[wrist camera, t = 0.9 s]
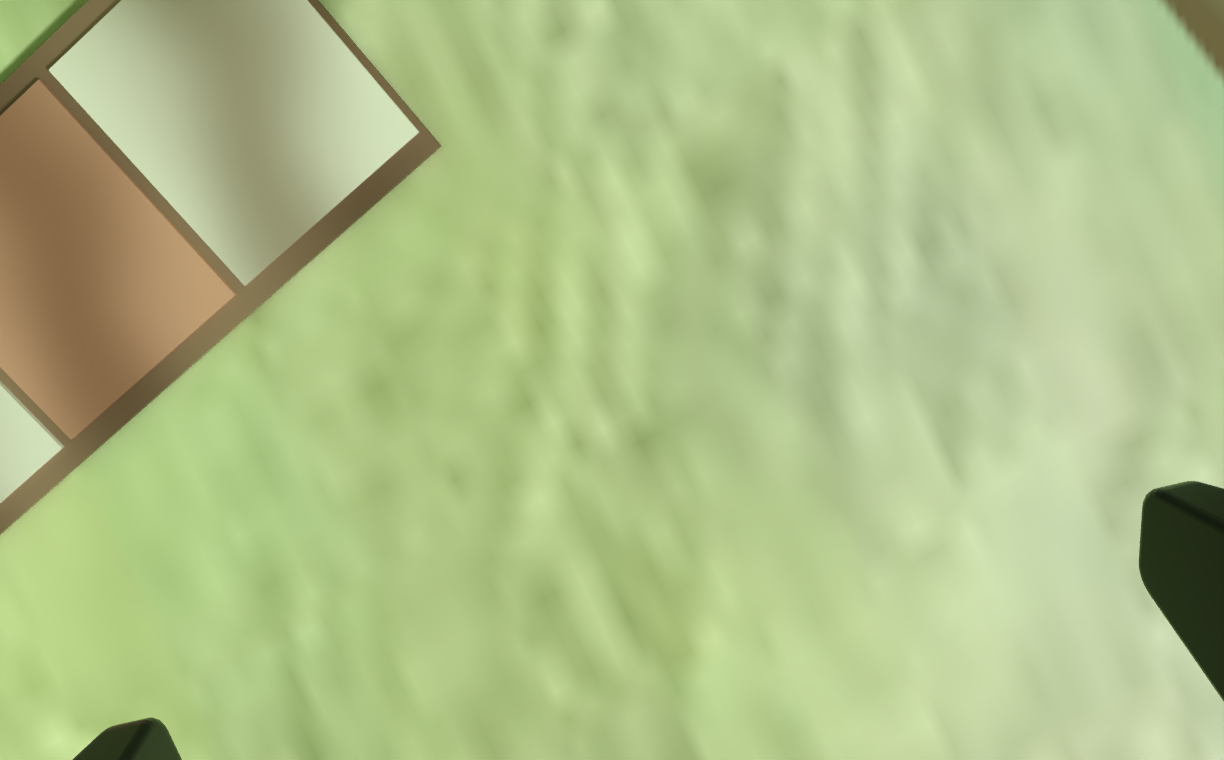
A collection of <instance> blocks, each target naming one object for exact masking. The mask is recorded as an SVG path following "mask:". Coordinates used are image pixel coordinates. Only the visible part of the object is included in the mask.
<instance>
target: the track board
mask: <svg viewBox="0 0 1224 760" xmlns="http://www.w3.org/2000/svg"><path fill="white" fill-rule="evenodd" d="M440 147H441V145H440V144H439V142H438V141H437V140H436V139H435V138H434V137H433V135H432V134H431V133H430V132H429V131H428V129H427V128H426V127H425V126H424V125H423V124H422V122H421V121H420V120H419V119H418V118H417V116H416V115H415V114H414V113H413V112H412V111H411V109H410V108H409V107H408V106H407V105H406V103H405V102H404V101H403V100H402V99H401V97H400V96H399V95H398V94H397V93H396V92H395V90H394V89H393V88H392V87H391V86H390V84H389V83H388V82H387V81H386V80H385V79H384V77H383V76H382V75H381V74H380V73H379V71H378V70H377V69H376V68H375V67H374V66H373V64H372V63H371V62H370V61H369V60H368V58H367V57H366V56H365V55H364V54H363V53H362V51H361V50H360V49H359V48H358V47H357V45H356V44H355V43H354V42H353V41H352V40H351V38H350V37H349V36H348V35H347V34H346V32H345V31H344V30H343V29H342V28H341V27H340V25H339V24H338V23H337V22H336V21H335V19H334V18H333V17H332V16H331V15H330V14H329V12H328V11H327V10H326V9H325V8H324V6H323V5H322V4H321V3H320V2H319V1H318V0H88V1H87V2H86V3H85V4H84V5H83V6H82V7H81V8H80V9H79V10H78V11H77V12H76V13H74V14H73V15H72V16H71V17H70V18H69V19H68V20H67V21H66V22H65V23H64V24H63V25H62V26H61V27H60V28H59V29H58V30H57V31H56V32H55V33H54V34H53V35H52V36H50V37H49V38H48V39H47V40H46V41H45V42H44V43H43V44H42V45H41V46H40V47H39V48H38V49H37V50H36V51H35V52H34V53H33V54H32V55H31V56H30V57H29V58H28V59H27V60H25V61H24V62H23V63H22V64H21V65H20V66H19V67H18V68H17V69H16V70H15V71H14V72H13V73H12V74H11V75H10V76H9V77H8V78H7V79H6V80H5V81H4V82H3V83H2V84H0V534H1V533H3V532H4V531H5V530H6V529H7V528H8V527H9V526H11V525H12V524H13V523H14V522H15V521H16V520H17V519H19V518H20V517H21V516H22V515H23V514H24V513H25V512H26V511H28V510H29V509H30V508H31V507H32V506H33V505H34V504H36V503H37V502H38V501H39V500H40V499H41V498H42V497H43V496H45V495H46V494H47V493H48V492H49V491H50V490H51V489H53V488H54V487H55V486H56V485H57V484H58V483H59V482H61V481H62V480H63V479H64V478H65V477H66V476H67V475H68V474H70V473H71V472H72V471H73V470H74V469H75V468H76V467H78V466H79V465H80V464H81V463H82V462H83V461H84V460H85V459H87V458H88V457H89V456H90V455H91V454H92V453H93V452H95V451H96V450H97V449H98V448H99V447H100V446H101V445H103V444H104V443H105V442H106V441H107V440H108V439H109V438H110V437H112V436H113V435H114V434H115V433H116V432H117V431H118V430H120V429H121V428H122V427H123V426H124V425H125V424H126V423H128V422H129V421H130V420H131V419H132V418H133V417H134V416H135V415H137V414H138V413H139V412H140V411H141V410H142V409H143V408H145V407H146V406H147V405H148V404H149V403H150V402H151V401H152V400H154V399H155V398H156V397H157V396H158V395H159V394H160V393H162V392H163V391H164V390H165V389H166V388H167V387H168V386H170V385H171V384H172V383H173V382H174V381H175V380H176V379H177V378H179V377H180V376H181V375H182V374H183V373H184V372H185V371H187V370H188V369H189V368H190V367H191V366H192V365H193V364H194V363H196V362H197V361H198V360H199V359H200V358H201V357H202V356H204V355H205V354H206V353H207V352H208V351H209V350H210V349H212V348H213V347H214V346H215V345H216V344H217V343H218V342H219V341H221V340H222V339H223V338H224V337H225V336H226V335H227V334H229V333H230V332H231V331H232V330H233V329H234V328H235V327H237V326H238V325H239V324H240V323H241V322H242V321H243V320H244V319H246V318H247V317H248V316H249V315H250V314H251V313H252V312H254V311H255V310H256V309H257V308H258V307H259V306H260V305H261V304H263V303H264V302H265V301H266V300H267V299H268V298H269V297H271V296H272V295H273V294H274V293H275V292H276V291H277V290H279V289H280V288H281V287H282V286H283V285H284V284H285V283H286V282H288V281H289V280H290V279H291V278H292V277H293V276H294V275H296V274H297V273H298V272H299V271H300V270H301V269H302V268H303V267H305V266H306V265H307V264H308V263H309V262H310V261H311V260H313V259H314V258H315V257H316V256H317V255H318V254H319V253H321V252H322V251H323V250H324V249H325V248H326V247H327V246H328V245H330V244H331V243H332V242H333V241H334V240H335V239H336V238H338V237H339V236H340V235H341V234H342V233H343V232H344V231H346V230H347V229H348V228H349V227H350V226H351V225H352V224H353V223H355V222H356V221H357V220H358V219H359V218H360V217H361V216H363V215H364V214H365V213H366V212H367V211H368V210H369V209H370V208H372V207H373V206H374V205H375V204H376V203H377V202H378V201H380V200H381V199H382V198H383V197H384V196H385V195H386V194H388V193H389V192H390V191H391V190H392V189H393V188H394V187H395V186H397V185H398V184H399V183H400V182H401V181H402V180H403V179H405V178H406V177H407V176H408V175H409V174H410V173H411V172H412V171H414V170H415V169H416V168H417V167H418V166H419V165H420V164H422V163H423V162H424V161H425V160H426V159H427V158H428V157H430V156H431V155H432V154H433V153H434V152H435V151H436V150H437V149H439V148H440Z"/></svg>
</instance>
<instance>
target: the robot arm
mask: <svg viewBox="0 0 1224 760" xmlns="http://www.w3.org/2000/svg"><path fill="white" fill-rule="evenodd" d="M1139 569H1140V574H1141V578H1142V581H1143V583H1144V585H1145V587H1146V589H1147V591H1148V592H1149V594H1150V595H1151V597H1152V598H1153V600H1154V601H1155V603H1156V604H1157V606H1158V607H1159V608H1160V610H1161V611H1162V613H1163V614H1164V616H1165V617H1166V619H1167V620H1168V621H1169V623H1170V624H1171V626H1172V627H1173V629H1174V630H1175V632H1176V633H1177V634H1178V636H1179V637H1180V639H1181V640H1182V642H1183V643H1184V645H1185V646H1186V648H1187V649H1188V650H1189V652H1190V653H1191V655H1192V656H1193V658H1194V659H1195V661H1196V662H1197V663H1198V665H1199V666H1200V668H1201V669H1202V671H1203V672H1204V674H1205V675H1206V676H1207V678H1208V679H1209V681H1210V682H1211V684H1212V685H1213V687H1214V688H1215V689H1216V691H1217V692H1218V694H1219V695H1220V697H1221V698H1222V700H1223V701H1224V489H1223V488H1219V487H1215V486H1212V485H1208V484H1204V483H1201V482H1196V481H1187V482H1182V483H1178V484H1173V485H1169V486H1165V487H1160V488H1156V489H1153V490H1152V491H1150V492H1149V493H1148V494H1147V495H1146V497H1145V499H1144V501H1143V507H1142V520H1141V536H1140V551H1139ZM73 760H182V759H181V757H180V755H179V753H178V751H177V749H176V747H175V744H174V742H173V740H172V738H171V736H170V734H169V732H168V730H167V728H166V727H165V725H164V724H163V723H162V722H161V721H160V720H158V719H155V718H146V719H141V720H137V721H132V722H128V723H123V724H119V725H115V726H112V727H109V728H107V729H106V730H104V731H103V732H102V733H101V734H100V735H99V736H97V737H96V738H95V739H94V740H93V741H92V742H91V743H90V744H89V745H88V746H87V747H86V748H85V749H83V750H82V751H81V752H80V753H79V754H78V755H77V756H76V757H75V758H74V759H73Z"/></svg>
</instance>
